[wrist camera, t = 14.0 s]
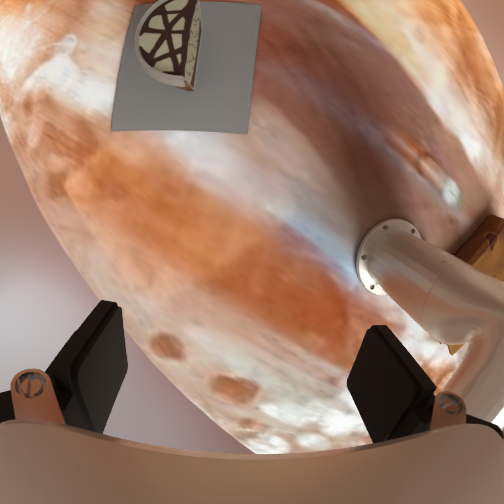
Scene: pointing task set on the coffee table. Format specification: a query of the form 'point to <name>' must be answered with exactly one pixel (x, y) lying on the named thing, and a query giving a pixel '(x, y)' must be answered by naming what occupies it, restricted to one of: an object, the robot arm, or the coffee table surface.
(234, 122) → the mat
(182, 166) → the coffee table surface
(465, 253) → the brown flat wooden box
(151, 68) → the food container
